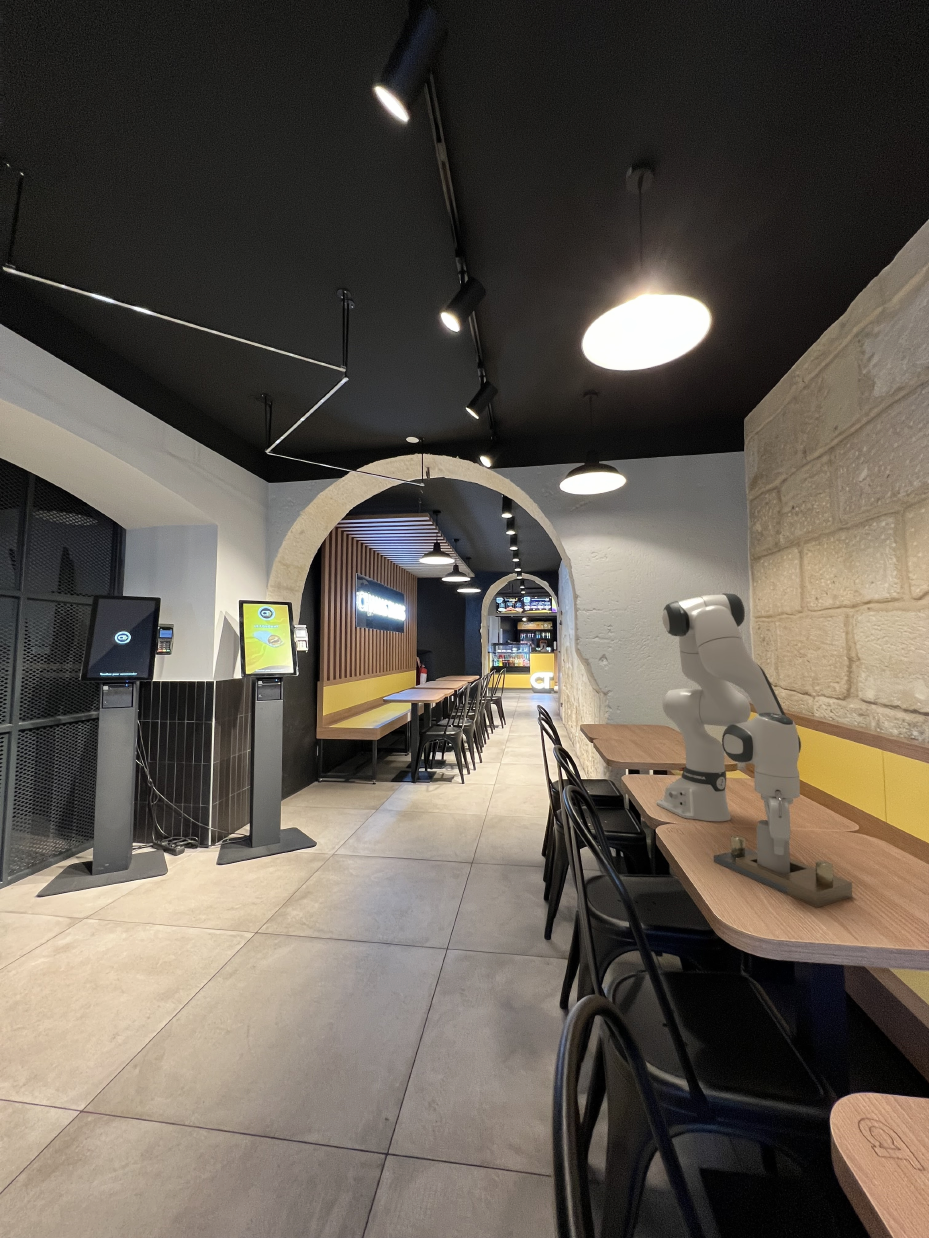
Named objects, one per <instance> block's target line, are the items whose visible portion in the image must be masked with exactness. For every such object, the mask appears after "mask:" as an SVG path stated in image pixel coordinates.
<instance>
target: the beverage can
mask: <svg viewBox="0 0 929 1238" xmlns="http://www.w3.org/2000/svg"><path fill="white" fill-rule="evenodd" d="M790 850H791V849H790V840H789V841H786V840H785V843H784V854H783V855H778V854H775V853H774V840H773V838H772V837H771V835H770V830H769V825H768V820H767V819H762V820H758V824H757V825H756V852H757V864H760V865H762V866H764V867H767V868H769V869H772V870H774V871H776V872H779V873H781V874H788V873H790V859H791V858H790V857H791V855H790Z"/></svg>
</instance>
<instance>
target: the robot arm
mask: <svg viewBox="0 0 929 1238" xmlns="http://www.w3.org/2000/svg"><path fill="white" fill-rule="evenodd" d="M743 603H744V602H743V601H742V599H741V598H740V597H739V596H738V594H735V593H729V592H728V593H724V592H723V593H722V594H707V595H706V594H705V595H700V596H697V597H692V598H688V599H683V600H682V599H681V600H680V601H679V600H674V601H671V602H669V603H668V604H666V605H665V606H664V608H663V612H662V615H661V616H662V625H663V626H664V629H665V630H666V632H667V634H669V635H671V636H673V637H678V639H679V640H678V644H679V645H678V646H679V656H680V664H681V665H680V666H681V671H682V673H683V675H684V677H686V678H687V679H688V680H690V681H691V682H694V683H695V684H697V685H698V687H700V688H701V689H699V688H685V687H684V688H676V689H669V690H668V691H667V692H666V693H665V695H664V697H663V699H662V709H663V712H664V714H665V715H666V716H667V718H668V719H670V720H671V721H672V722H673V723H674V724H675V725H676V727H677V728H678V729H679V731H680V733H681V735H682V738H683V741H684V747H685V766H684V767H679V768H678V769H679V770H678V771H679V772H682V773H681V775H680V777H679V778H678V779H676V780H674V781H673V782H672V783H670V784H668V785H667V786H666V787H665V790H664V794H663V795H664V798H661V799H658V800H656V805H657V806H659V807H661V808H662V809H665V810H666V811H669V812H671V813H673V814H676V815H677V816H678V817H679V816H680V817H681V818H683V819H691V820H698V821H707V822H725V821H730V820H731V818H732V816H731V814H730V810H729V806H728V799H727V791H726V786H727V771H726V769H725V766H726V765H725V763H726V762H725V761H726V760H725V756H727V757H728V758H729V759H730V760H731V761H733V762H736V763H739V764H753V766H754V769H753V770H754V772H753V774H754V791H755V792H756V793H758V794H760V799H761V800H762V801H763V804H764V808H765V809H764V810H765V814H766V818H767V819H766V820H768V825H769V830H770V835H771V837H772V838H773V840H774V853H775V854H778V855H783V854H784V843H785V840H786V841H789V842H790V839H791V812H790V805H793V804H794V799H799V798H800V796H801V795H800V794H801V792H800V791H801V790H800V787H801V786H800V783H801V782H800V772H799V769H798V761H799V758H800V754H801V750H802V749H801V748H802V741H801V738H800V735H799V734H798V730H797V729H798V728H797V726H796V722H795V721H794V720H793V719H792V718H790V717H789V716H786V715H787V714H786V713H785V711H784V708H783V707H782V704H781V703H780V700H779V699H778V697H777V694H776V691H775V690H774V687H773V685H772V683H771V682H770V680H769V677H768V676H767V674H766V672H765V671H764V669H763V668H762V666H760V665H759V664H758V663H757V662H756V661H755V660H754V659H753V657H752V656H751V655H750V653H749V652H748V650H747V648H746V646H745V643H744V640H743V638H742V635H741V632H740V629H739V627H741V625H742V624H743V623H744V621H745V617H746V615H745V614H746V613H745V612H746V611H745V606H744V604H743ZM731 684H733V685H735V686H737V687H739V689H742V690H743V691H744V692H745V693H746V694H747V695H748V697H749V698H750V700H751V702H752V705H753V707H754V709H755V712H756V715H755V716H754V717H753V718H751V719H750V717H751V713H752V712H751V710H752V709H751V704H750V702H749V700H748V698H747V697H746V696H745V695H744V694H742V693H740V692H739V691H737V690H736V689H735V688H734V687H733V686H732V685H731ZM749 719H750V720H749ZM705 725H708V726H715V727H723V728H724V727H725V729H724V730H723V732H722V737H721V741H720V740H719V739H717V738H716V737H714V736H713V735H711V734H710V733H708V731H707V729H706V726H705ZM725 754H726V755H725Z"/></svg>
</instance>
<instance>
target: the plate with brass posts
mask: <svg viewBox="0 0 929 1238" xmlns="http://www.w3.org/2000/svg"><path fill="white" fill-rule="evenodd" d="M730 846H731V847H730V848H731V849H730V851H729V852H725V853H719V854H714V855H713V863H715V864H718V865H720V866H722V867H725V868H727V869H728V870H732V871H733V872H736V873H738V874H740V875H743V876H745V877H747V878H748V879H749V878H750V880H754V881H756V882H759V883H760V884H763V885H765V886H766V887H769V888H772V889H774V890H776V891H779V892H781V893H783V894H785V895H787V896H789V897H792V898H794V899H796V900H798V901H801V902H803V903H805V904H807V905H809V906H812V907H814V908H816V909H817V908H822V907H824V906H828V905H831V904H835V903H837V902H841V901H844V900H847V899H851V898H853V882H851V881H850V880H848V879H845V878H841V877H839V876H836V875H835V874H834V865H833V864H832V863H831V862H829V861H826V860H825V861H824V860H815V863H814V865H815V867H812V866H811V865H807V864H805V863H802V862H799V861H797V860H794V859H792V858H790V873H788V874H781V873H779V872H776V871H774V870H772V869H769V868H767V867H764V866H762V865H760V864H757V851H754V850H752V849H749V848H746V838H745V837H743V836H738V835H732V836H731V838H730Z"/></svg>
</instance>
